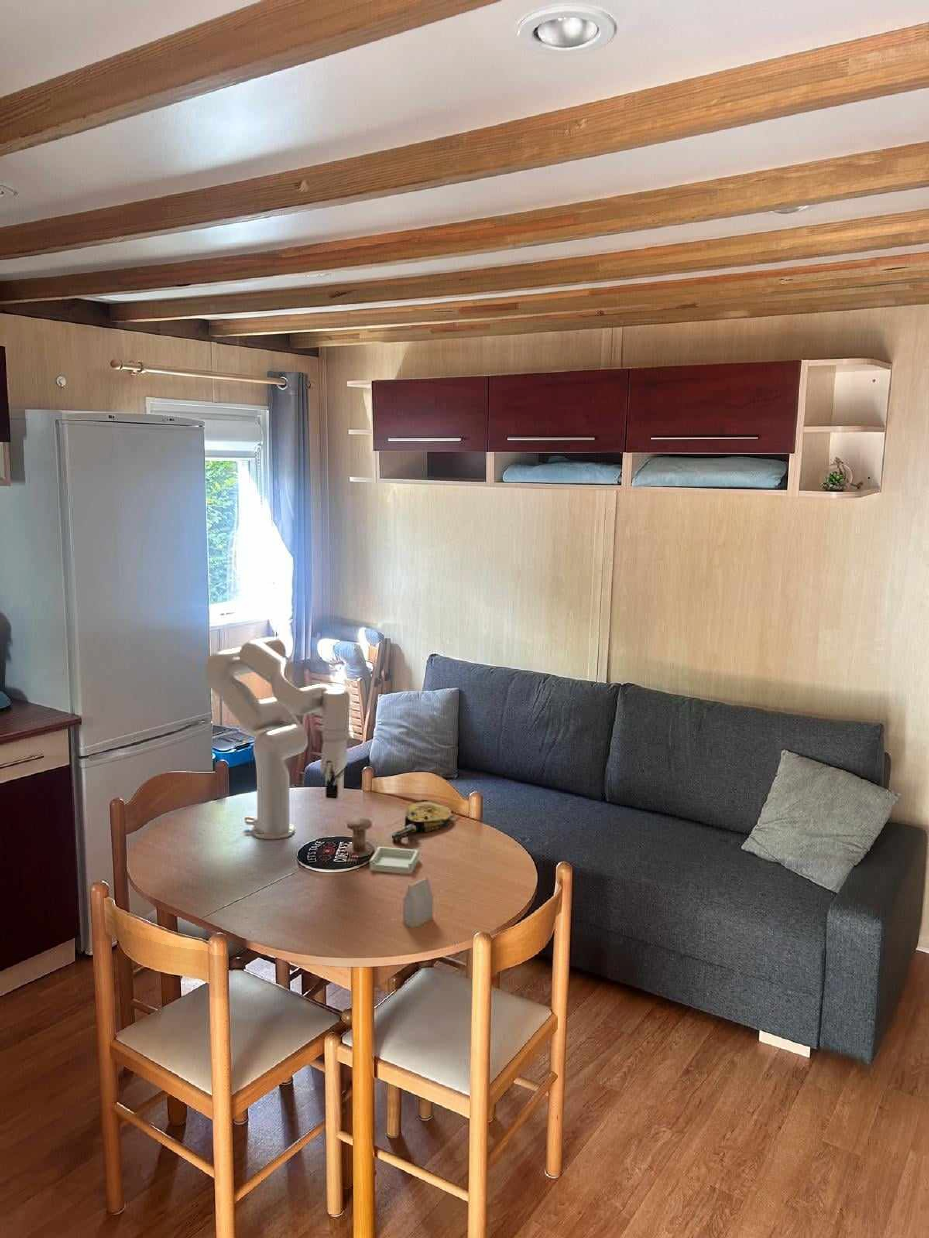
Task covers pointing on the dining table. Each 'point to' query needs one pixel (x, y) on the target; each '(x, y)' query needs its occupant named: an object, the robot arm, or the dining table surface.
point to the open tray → (394, 860)
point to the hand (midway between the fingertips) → (334, 794)
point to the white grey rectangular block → (339, 787)
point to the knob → (359, 837)
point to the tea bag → (418, 903)
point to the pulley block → (424, 819)
